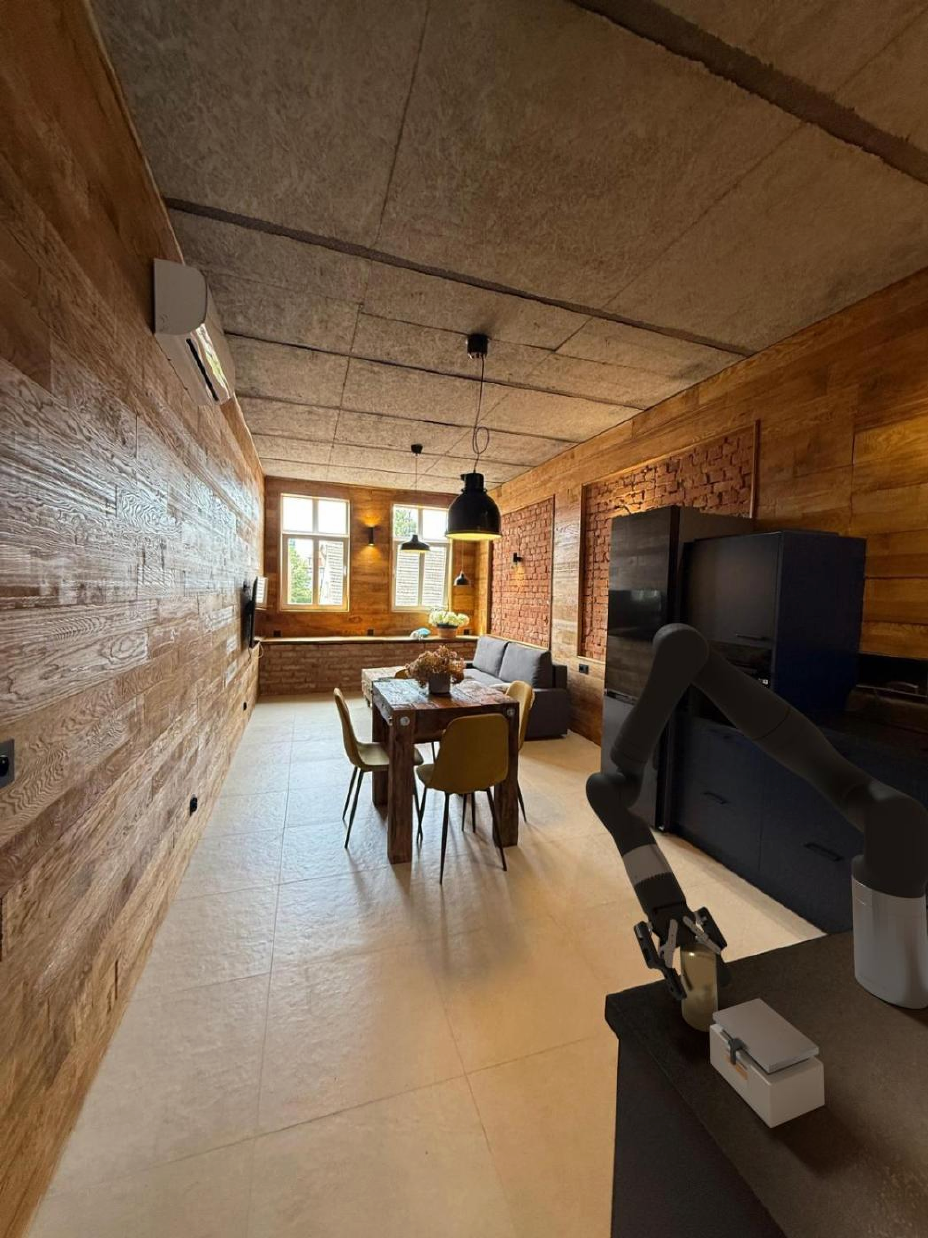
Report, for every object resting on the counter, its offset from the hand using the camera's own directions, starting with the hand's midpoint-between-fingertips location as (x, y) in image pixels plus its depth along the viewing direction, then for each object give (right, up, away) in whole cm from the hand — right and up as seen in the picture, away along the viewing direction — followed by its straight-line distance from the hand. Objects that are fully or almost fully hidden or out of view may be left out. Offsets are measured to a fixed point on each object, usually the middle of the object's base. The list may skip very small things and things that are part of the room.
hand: (705, 992), depth 71 cm
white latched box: (+3, -4, -9) cm, 11 cm away
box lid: (+2, -2, -9) cm, 10 cm away
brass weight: (0, -5, +1) cm, 5 cm away
